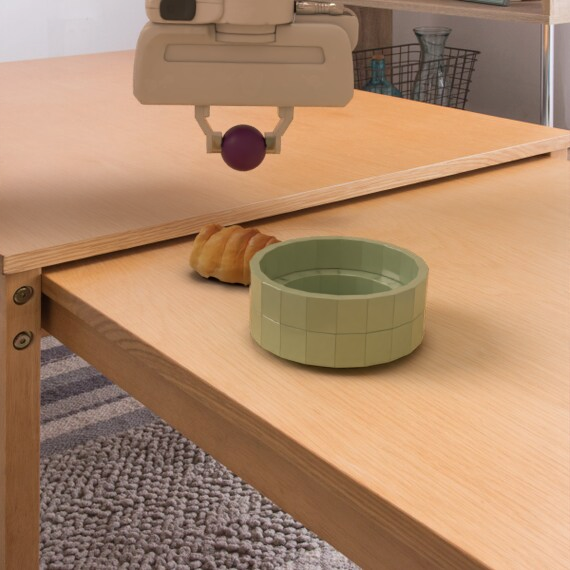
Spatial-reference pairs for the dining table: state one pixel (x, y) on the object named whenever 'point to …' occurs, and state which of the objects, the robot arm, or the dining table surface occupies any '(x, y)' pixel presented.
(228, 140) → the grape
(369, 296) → the basin
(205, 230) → the pastry
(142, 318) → the dining table surface
